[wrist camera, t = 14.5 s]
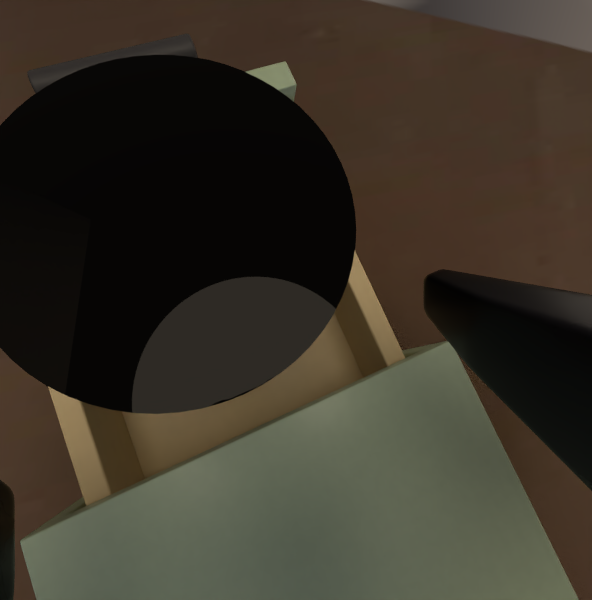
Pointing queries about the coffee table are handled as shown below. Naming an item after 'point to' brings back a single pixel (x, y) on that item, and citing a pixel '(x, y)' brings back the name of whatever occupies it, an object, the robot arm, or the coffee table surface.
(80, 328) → the supplement container
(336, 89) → the coffee table surface
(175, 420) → the drawer
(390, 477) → the cabinet
